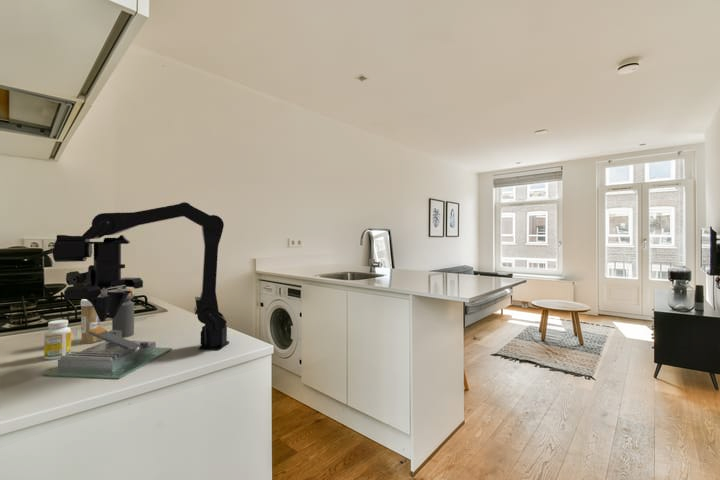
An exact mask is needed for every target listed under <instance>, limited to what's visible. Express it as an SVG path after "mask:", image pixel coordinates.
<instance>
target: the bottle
mask: <svg viewBox="0 0 720 480" xmlns="http://www.w3.org/2000/svg"><path fill="white" fill-rule="evenodd" d="M127 291H131V293H129V294H128V296H127V297H126V299H125V300H124V302H123V304H122V305H121V307H120V309H119V311H118V312H117V314H116V316H115V318H113V319H112V320H111V328H112V329H111V330H122V338H128V337H131V336H133V335H134V334H135V302H134V301H132V299H133V298H134V295H133V294H132V292H133V289H130V288H129V289H128V288H127Z"/></svg>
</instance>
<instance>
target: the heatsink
mask: <svg viewBox="0 0 720 480" xmlns="http://www.w3.org/2000/svg"><path fill="white" fill-rule="evenodd" d="M131 341H132V342H134V343H136V344H139V345H141V346H142V345H143V346H144V348H143V349H141V350H139V351H137V352H135V348H128V349H127V350H126V349H124V348H121V347H119V346H116V345H114V344H112V343H109V342H106V341H103V342H101V343H98V344H96V345H93V346H90V347H88V348H84V349H83V350H81V351H71V353H67V354H66V355H62V356H60V358H59V359H57V367H54V368H52V369H50V370H47V371H44V372H43V376H50V377H71V378H72V377H75V378H93V379H95V378H96V379H115V380H116V379H117V380H119V379H122V378H124V377H126V376H127V375H129V374H131V373H133V372H135V371H136V370H138V369H140V368H142V367H144V366H145V365H147V364H149V363H151V362H152V361H155V360H157V359H158V358H160V357H162V356H164V355H166V354H167V353H169V352H171V351H172V350H173V348H172V347H158V346H156V341H148V340H144V341H143V340H141V341H140V340H131Z"/></svg>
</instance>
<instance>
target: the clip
mask: <svg viewBox="0 0 720 480" xmlns="http://www.w3.org/2000/svg"><path fill="white" fill-rule="evenodd" d="M108 332H110V333H112V334H115V335H117V336H120V337H122V330H112V329H111V330H108ZM97 340H99V341H103V340H102V339H100V338H97ZM105 342H107V341H105Z"/></svg>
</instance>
